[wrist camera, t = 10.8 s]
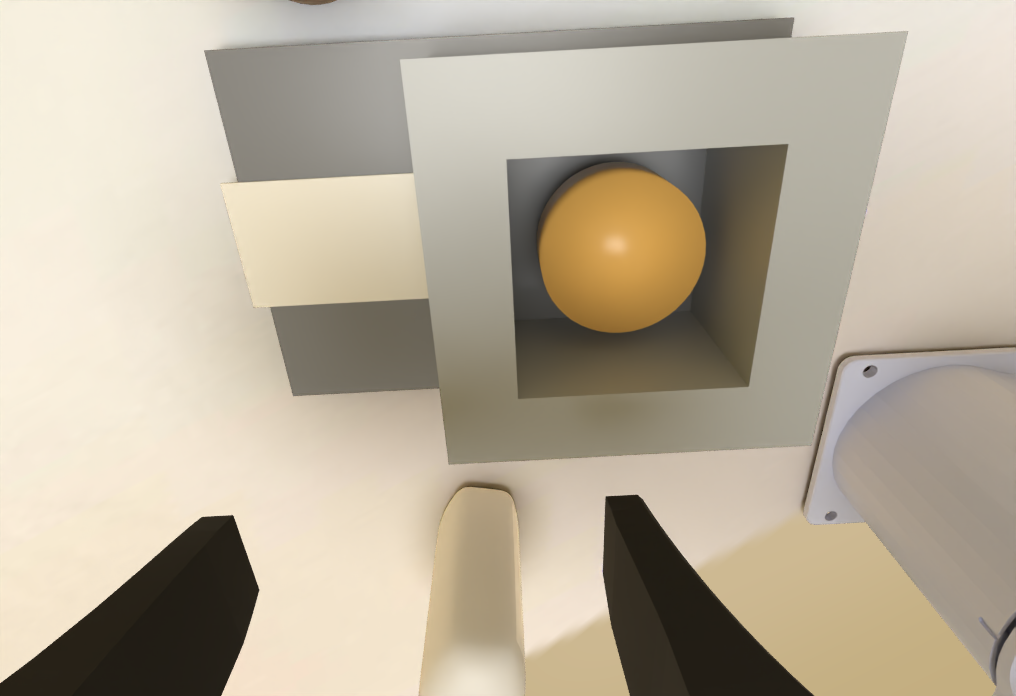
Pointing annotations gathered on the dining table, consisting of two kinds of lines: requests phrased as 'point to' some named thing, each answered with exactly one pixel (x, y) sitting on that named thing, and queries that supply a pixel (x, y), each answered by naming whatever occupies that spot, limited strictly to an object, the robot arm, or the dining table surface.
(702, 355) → the grey open box
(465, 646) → the eye dropper bottle
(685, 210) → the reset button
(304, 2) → the dowel
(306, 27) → the dining table surface
